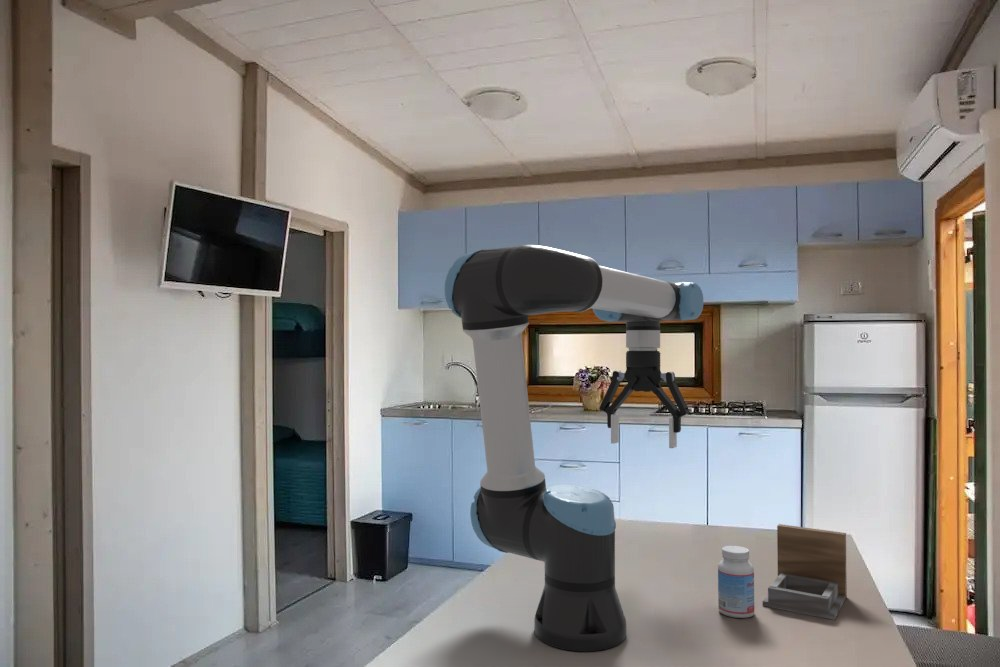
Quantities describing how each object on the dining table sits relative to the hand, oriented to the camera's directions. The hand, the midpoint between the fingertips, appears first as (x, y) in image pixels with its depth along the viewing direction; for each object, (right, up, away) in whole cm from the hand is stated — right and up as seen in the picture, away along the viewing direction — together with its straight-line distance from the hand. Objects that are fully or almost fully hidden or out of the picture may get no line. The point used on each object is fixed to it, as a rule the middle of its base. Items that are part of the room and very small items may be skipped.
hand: (643, 445), depth 159 cm
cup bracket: (+25, -25, -27) cm, 44 cm away
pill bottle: (+10, -25, -32) cm, 42 cm away
